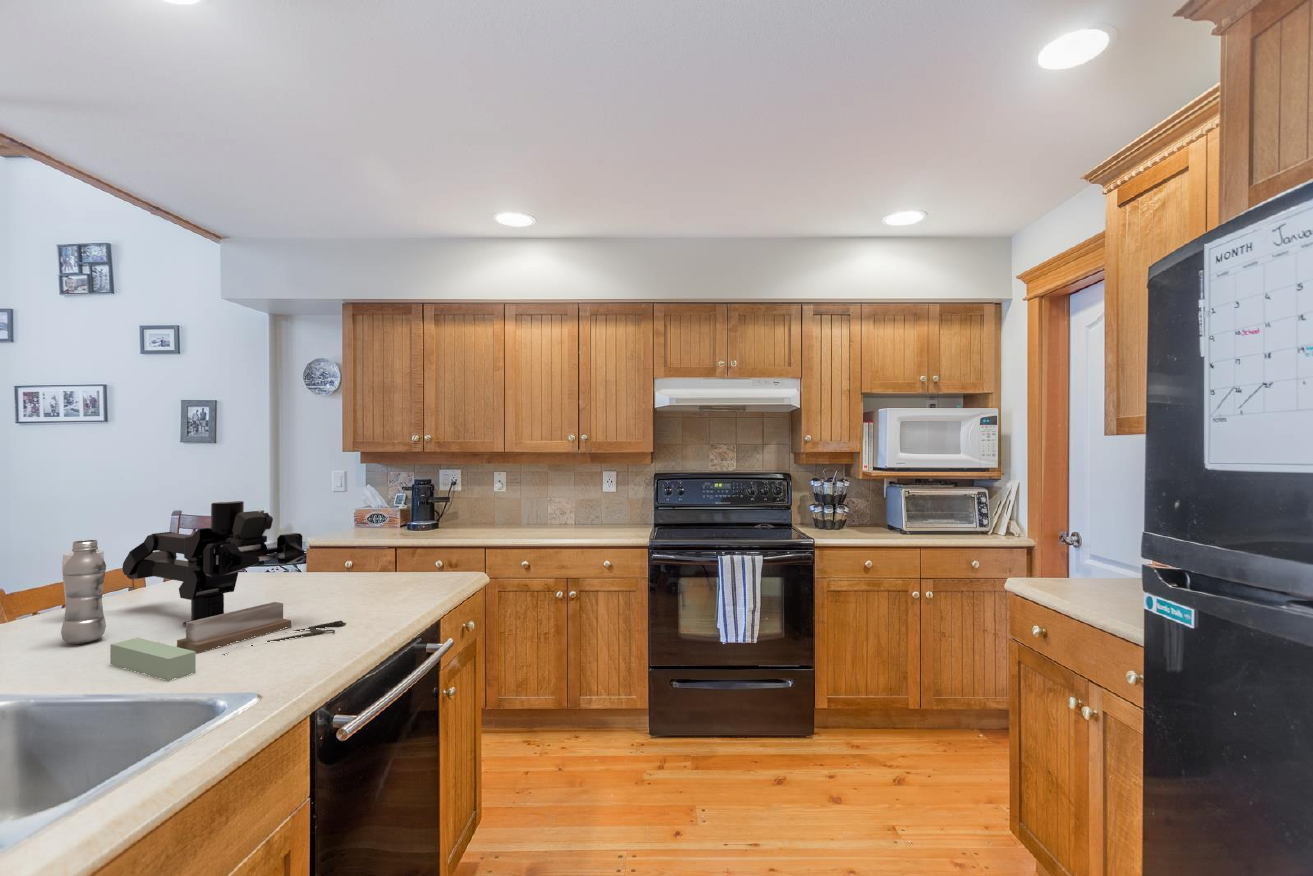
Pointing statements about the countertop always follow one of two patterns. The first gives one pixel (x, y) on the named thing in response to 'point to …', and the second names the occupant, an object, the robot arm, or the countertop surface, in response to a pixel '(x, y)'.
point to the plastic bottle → (83, 594)
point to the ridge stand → (233, 627)
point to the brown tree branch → (314, 630)
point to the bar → (153, 658)
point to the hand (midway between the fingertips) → (281, 556)
